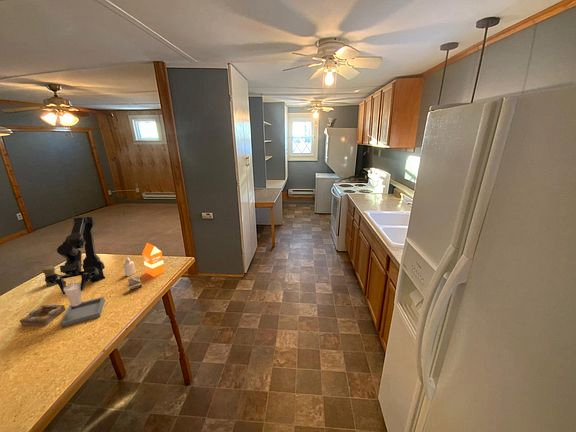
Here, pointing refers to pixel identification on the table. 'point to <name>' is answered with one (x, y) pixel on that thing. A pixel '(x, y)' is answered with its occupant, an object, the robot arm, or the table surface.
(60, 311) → the clip collar
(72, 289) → the smoothie
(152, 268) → the orange juice
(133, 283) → the architectural model
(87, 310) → the tray
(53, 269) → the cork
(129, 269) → the eye dropper bottle
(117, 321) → the table surface
